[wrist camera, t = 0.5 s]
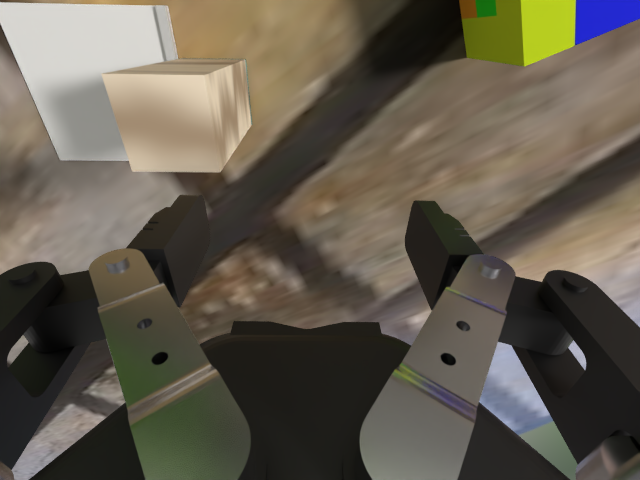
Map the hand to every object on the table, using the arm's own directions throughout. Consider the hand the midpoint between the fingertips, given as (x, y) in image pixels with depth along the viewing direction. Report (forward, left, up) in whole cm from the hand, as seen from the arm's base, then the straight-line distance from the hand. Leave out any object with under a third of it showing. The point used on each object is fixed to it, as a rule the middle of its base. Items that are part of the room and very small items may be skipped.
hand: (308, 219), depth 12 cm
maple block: (-1, -9, -24) cm, 26 cm away
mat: (-1, -20, -24) cm, 32 cm away
